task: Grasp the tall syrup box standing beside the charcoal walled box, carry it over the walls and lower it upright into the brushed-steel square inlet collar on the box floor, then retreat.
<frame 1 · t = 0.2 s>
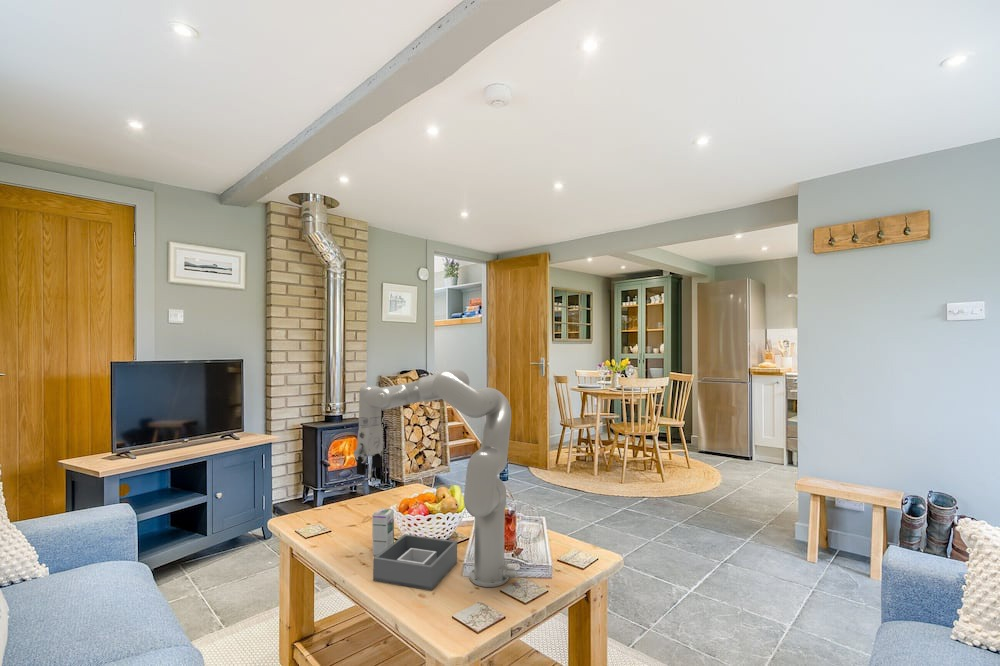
hand: (369, 470, 170), 30 cm above the table, fingers open, 9 cm apart
walled box: (416, 571, 159), on the table
syrup box: (383, 553, 174), on the table
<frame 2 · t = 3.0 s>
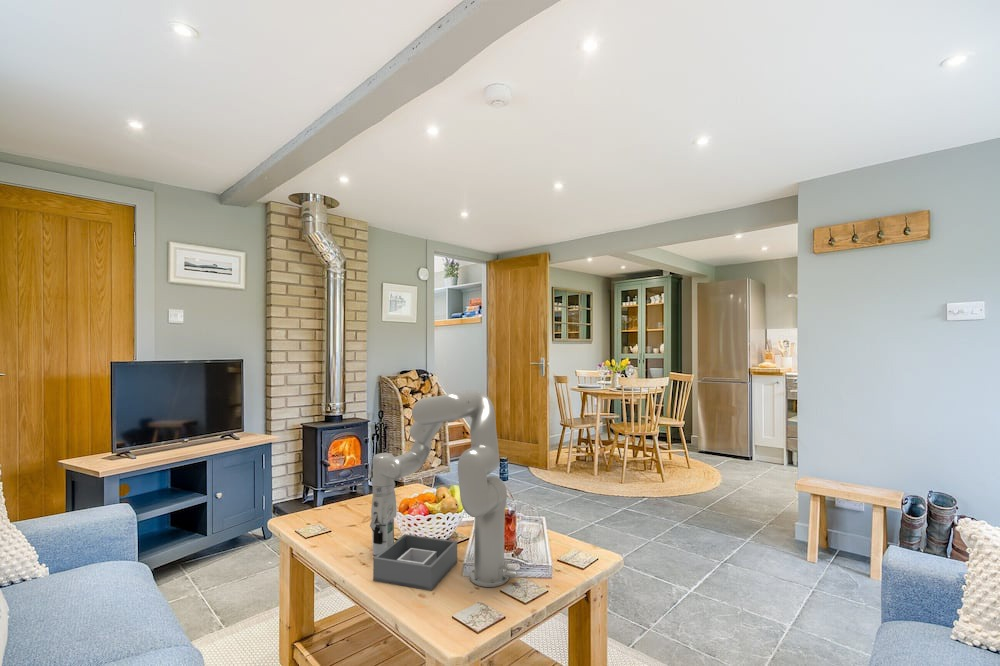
hand: (383, 539, 174), 5 cm above the table, fingers closed on syrup box, 6 cm apart
syrup box: (383, 552, 174), on the table, touching gripper
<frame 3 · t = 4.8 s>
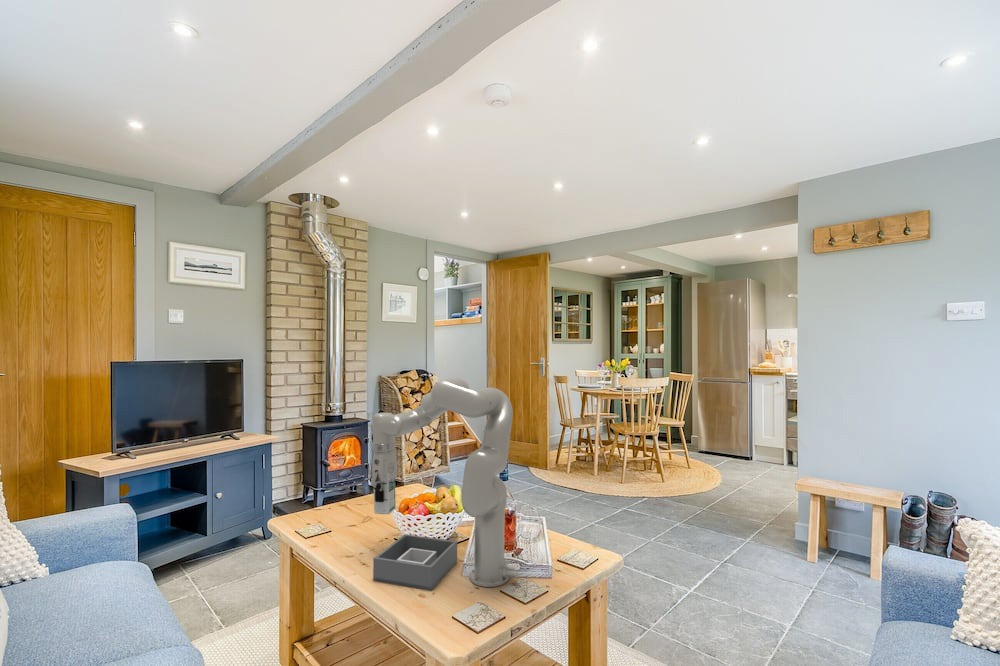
hand: (384, 498, 174), 19 cm above the table, fingers closed on syrup box, 6 cm apart
syrup box: (384, 512, 173), point 14 cm above the table, touching gripper
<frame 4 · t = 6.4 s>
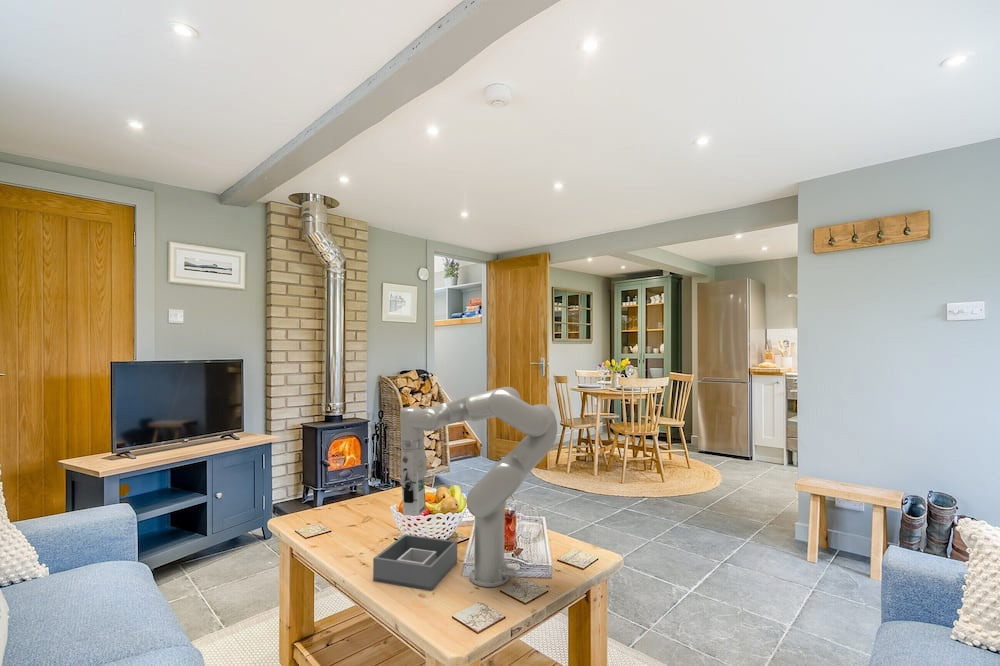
hand: (413, 498, 162), 23 cm above the table, fingers closed on syrup box, 6 cm apart
syrup box: (414, 513, 161), point 18 cm above the table, touching gripper
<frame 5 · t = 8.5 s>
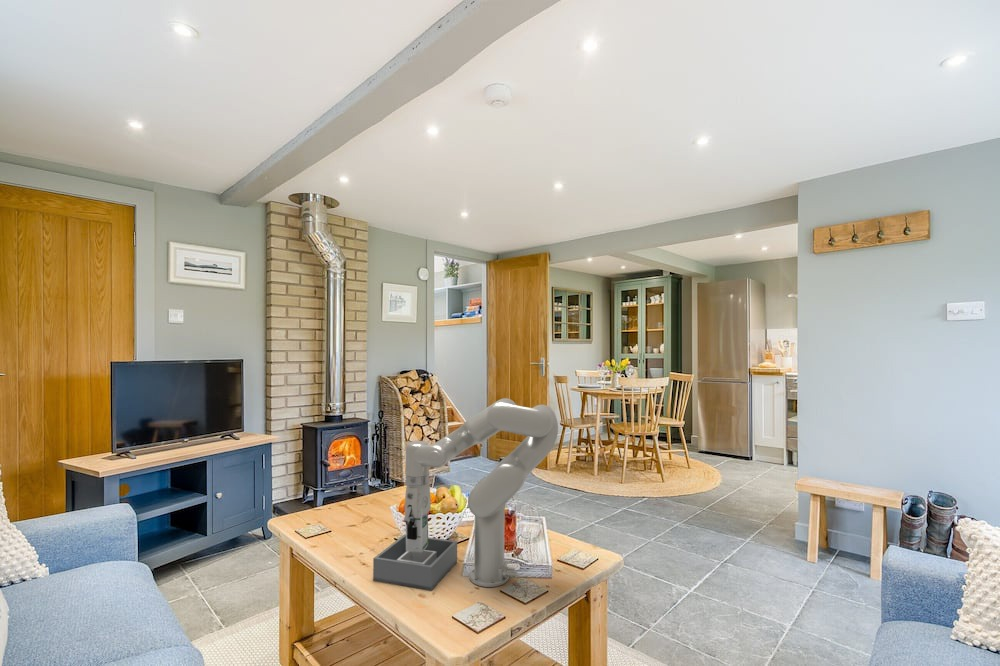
hand: (417, 534, 160), 12 cm above the table, fingers closed on syrup box, 6 cm apart
syrup box: (416, 549, 160), point 7 cm above the table, touching gripper
when the fingers open (7 cm above the table, at t = 10.0 s): syrup box drops 2 cm, resting on walled box.
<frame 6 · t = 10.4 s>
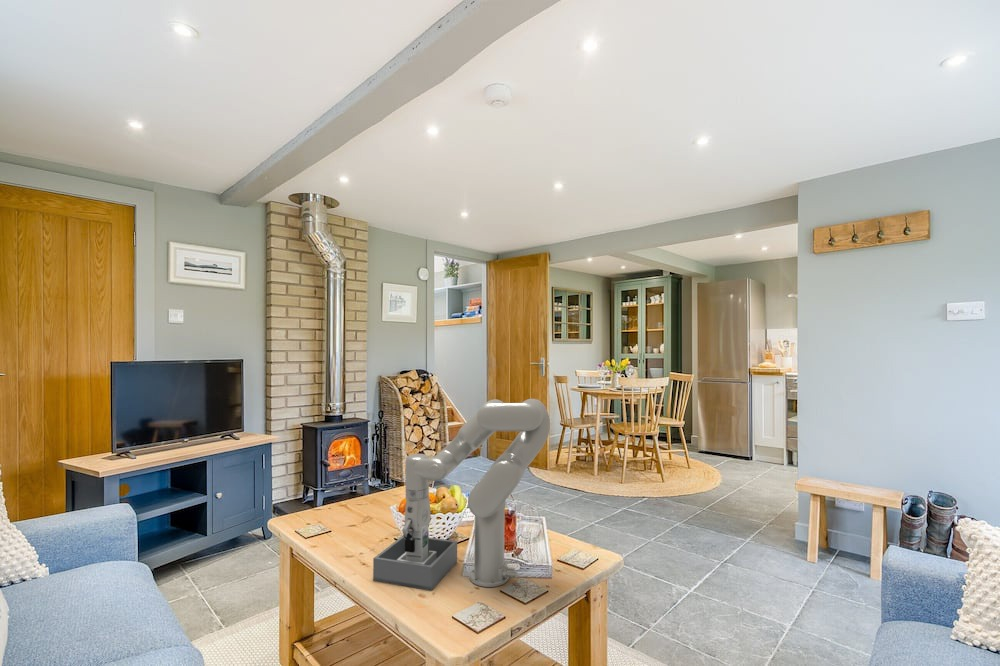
hand: (417, 545, 160), 8 cm above the table, fingers open, 9 cm apart
syrup box: (417, 568, 159), point 1 cm above the table, touching walled box
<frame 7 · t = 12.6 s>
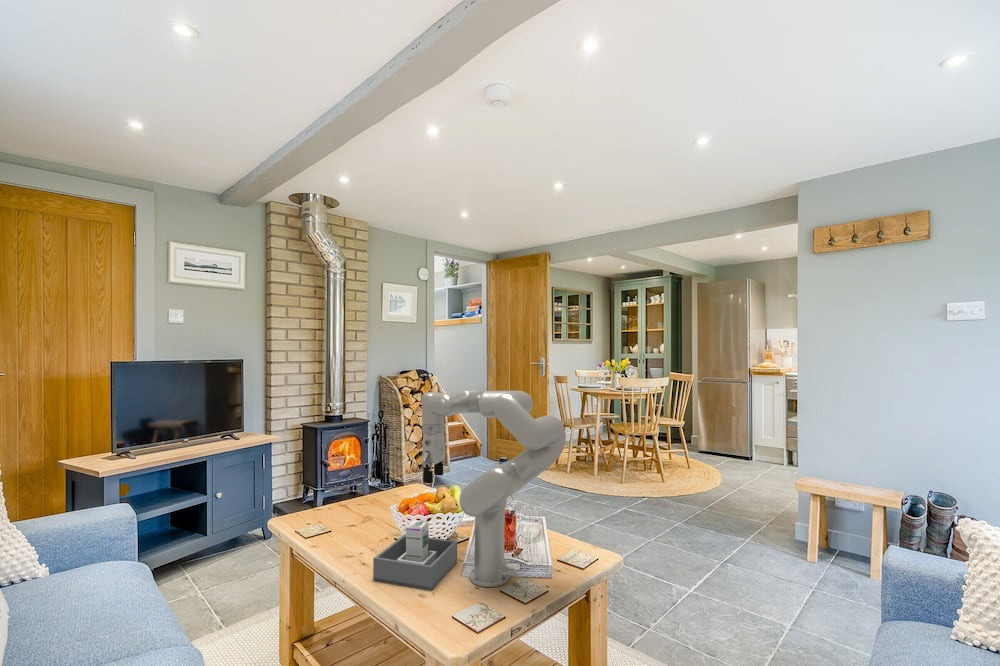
hand: (433, 478, 167), 28 cm above the table, fingers open, 9 cm apart
nothing on the table moved.
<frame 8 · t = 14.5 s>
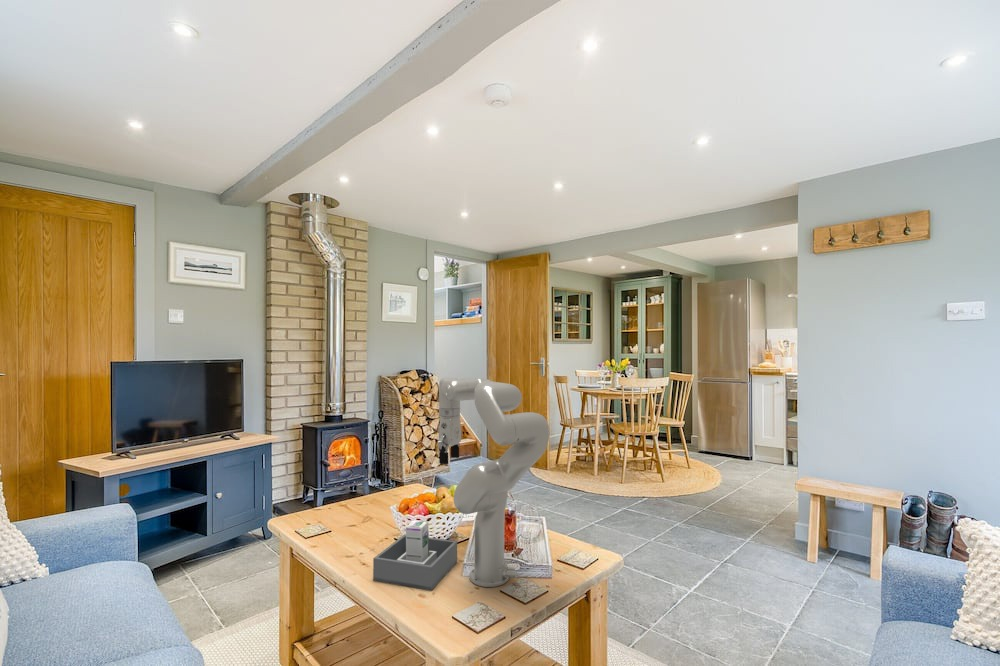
hand: (449, 460, 175), 32 cm above the table, fingers open, 9 cm apart
nothing on the table moved.
at the end: syrup box 0.2 cm off-centre on the walled box, point 0.8 cm above the walled box's base; syrup box tilted 0°; the gripper is holding nothing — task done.
